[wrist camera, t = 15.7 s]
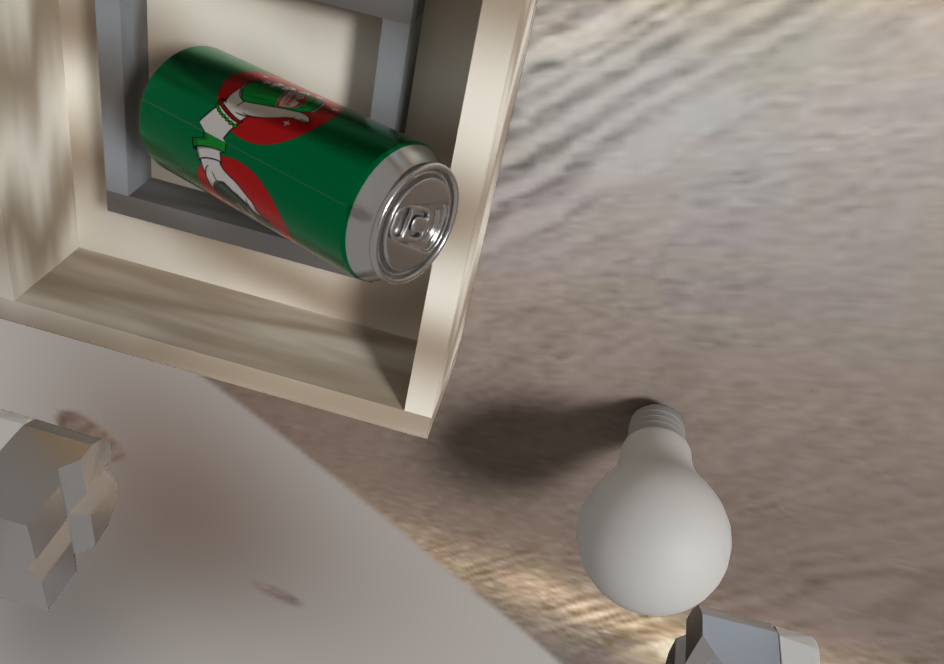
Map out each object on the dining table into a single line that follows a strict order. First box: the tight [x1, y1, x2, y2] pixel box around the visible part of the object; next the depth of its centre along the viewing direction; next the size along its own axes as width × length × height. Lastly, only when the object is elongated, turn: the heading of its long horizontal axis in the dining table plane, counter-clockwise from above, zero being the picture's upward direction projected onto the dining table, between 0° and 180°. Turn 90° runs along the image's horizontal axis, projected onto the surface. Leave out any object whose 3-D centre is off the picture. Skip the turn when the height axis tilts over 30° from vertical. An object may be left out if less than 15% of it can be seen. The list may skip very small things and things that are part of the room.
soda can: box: [139, 46, 459, 285], centre depth 31 cm, size 5×5×12 cm
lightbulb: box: [577, 404, 732, 616], centre depth 37 cm, size 6×6×11 cm
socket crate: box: [0, 0, 538, 439], centre depth 34 cm, size 22×20×6 cm
